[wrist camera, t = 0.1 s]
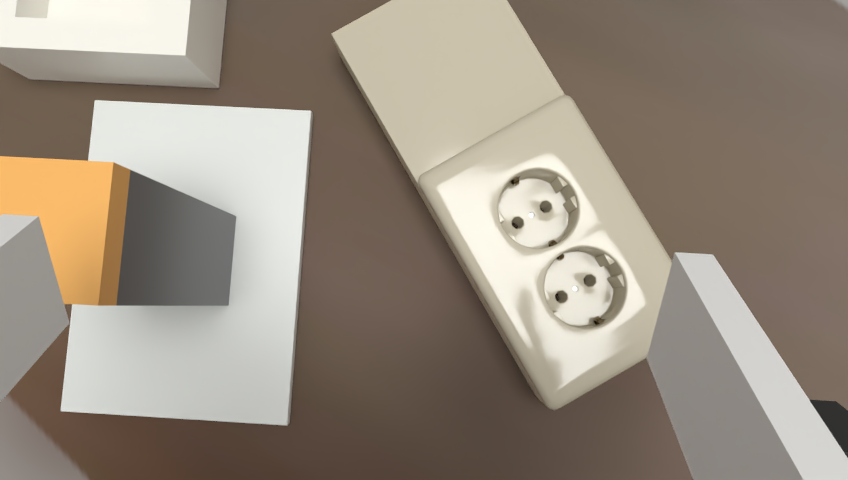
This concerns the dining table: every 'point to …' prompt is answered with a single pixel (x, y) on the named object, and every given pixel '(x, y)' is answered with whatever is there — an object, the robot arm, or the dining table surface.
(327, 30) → the dining table surface
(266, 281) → the tray
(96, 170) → the plug
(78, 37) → the socket strip
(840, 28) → the dining table surface
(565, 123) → the electrical outlet
